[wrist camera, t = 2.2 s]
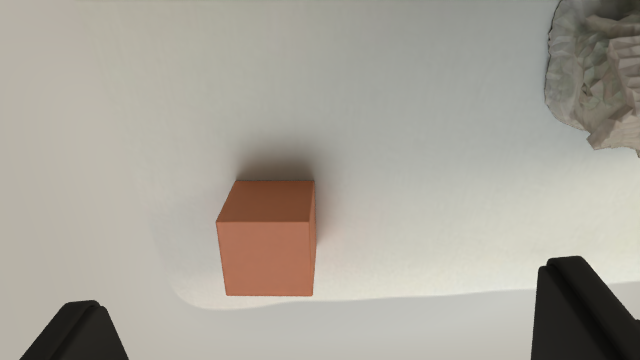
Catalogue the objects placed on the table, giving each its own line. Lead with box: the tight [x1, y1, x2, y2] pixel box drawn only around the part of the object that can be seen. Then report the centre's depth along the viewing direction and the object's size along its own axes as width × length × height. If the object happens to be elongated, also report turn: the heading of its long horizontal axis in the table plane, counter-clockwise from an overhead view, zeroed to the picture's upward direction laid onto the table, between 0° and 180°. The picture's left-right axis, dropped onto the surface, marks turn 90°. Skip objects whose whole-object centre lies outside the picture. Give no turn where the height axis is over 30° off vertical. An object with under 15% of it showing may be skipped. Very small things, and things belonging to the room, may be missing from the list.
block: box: [216, 181, 316, 296], centre depth 27 cm, size 5×5×5 cm
